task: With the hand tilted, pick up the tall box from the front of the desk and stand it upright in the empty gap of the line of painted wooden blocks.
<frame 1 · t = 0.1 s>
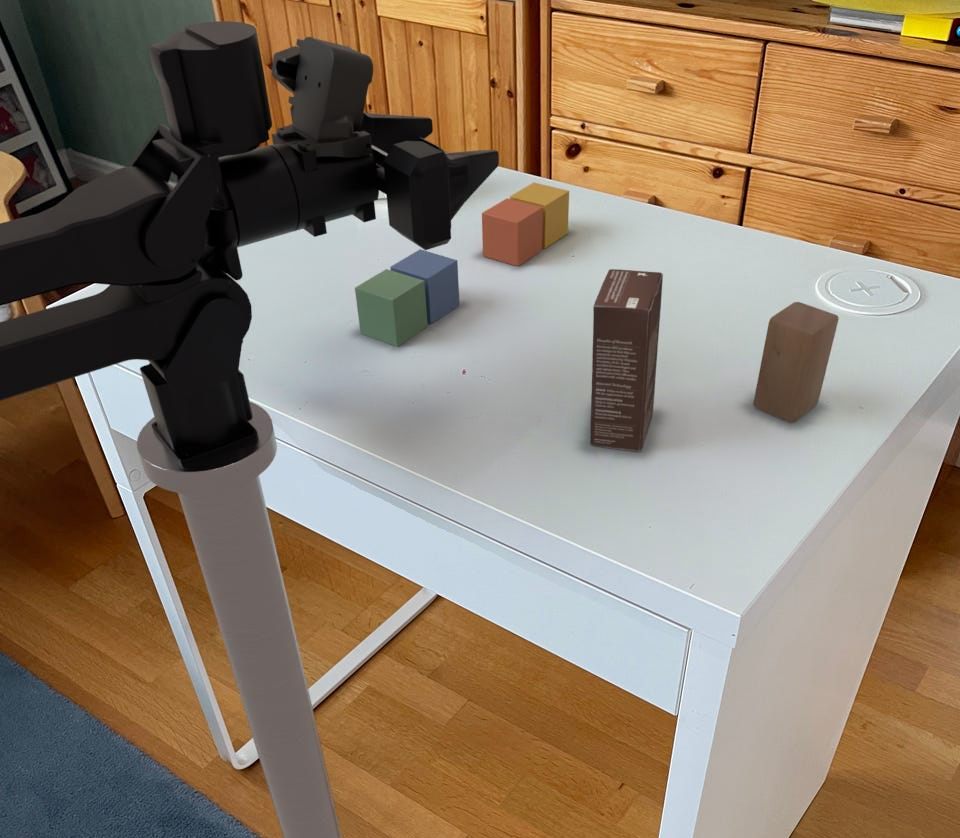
hand: (463, 140, 76), 18 cm above the table, tool horizontal, fingers open, 9 cm apart
wooden block: (784, 409, 81), on the table
box: (619, 432, 79), on the table
block line: (471, 280, 99), on the table
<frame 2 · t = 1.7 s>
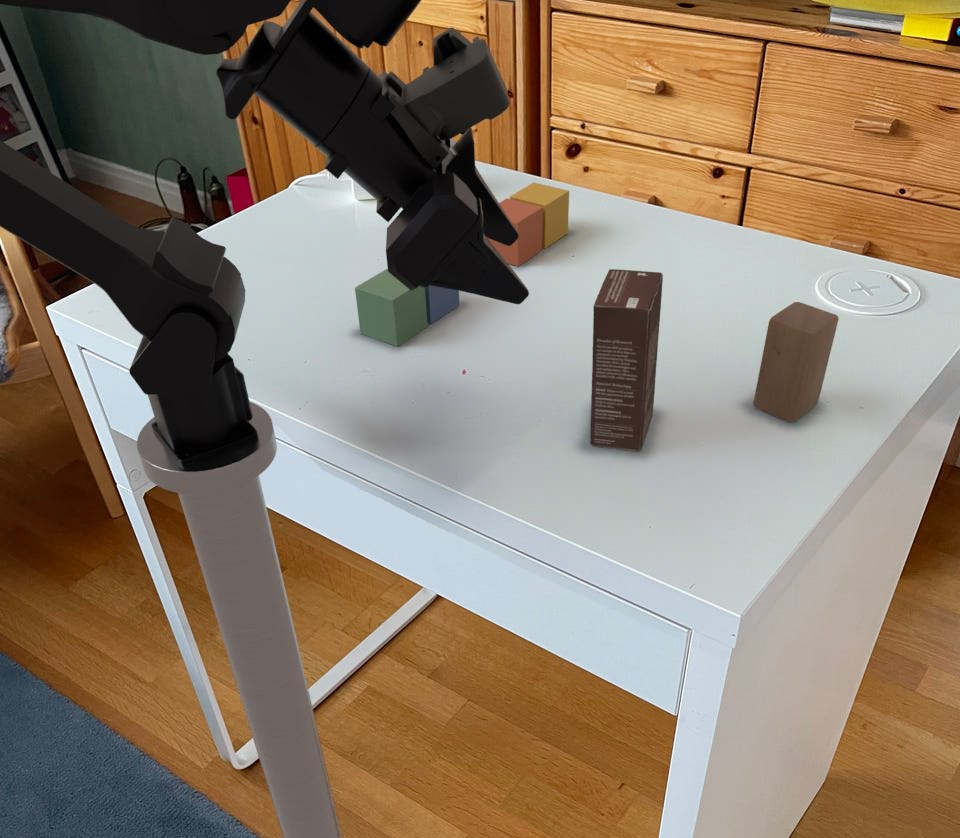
hand: (519, 268, 69), 14 cm above the table, tool tilted 45°, fingers open, 9 cm apart
nothing on the table moved.
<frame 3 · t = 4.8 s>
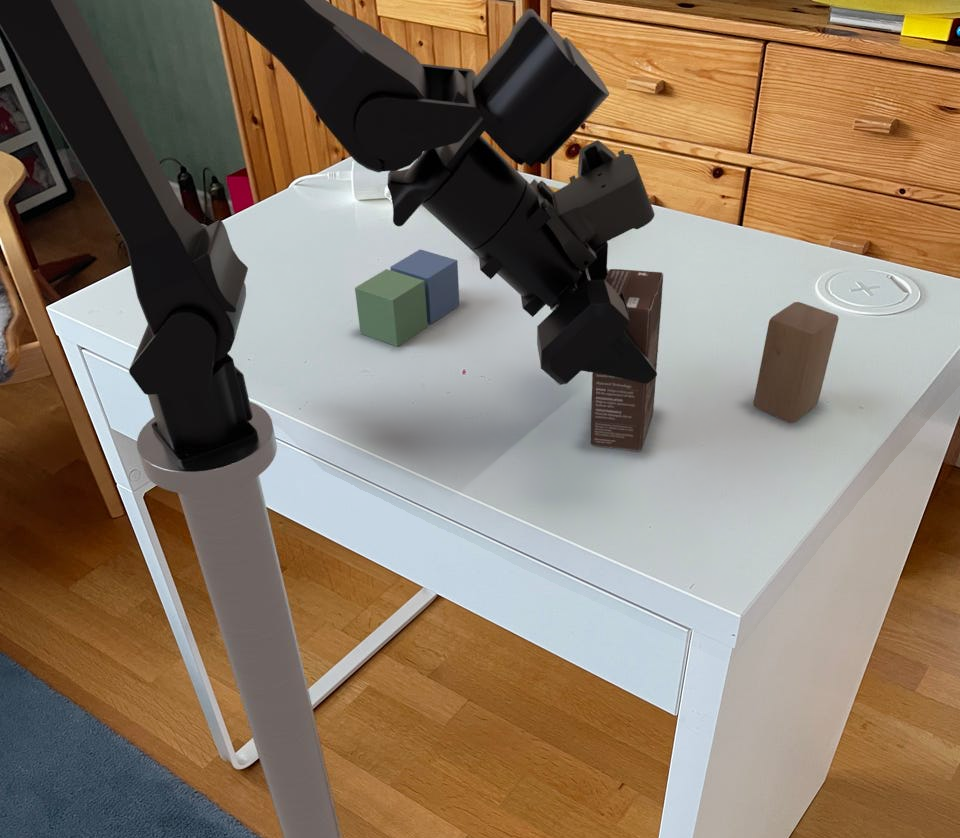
hand: (644, 354, 74), 7 cm above the table, tool tilted 45°, fingers closed on box, 7 cm apart
box: (619, 432, 79), on the table, touching gripper
everything else where it was.
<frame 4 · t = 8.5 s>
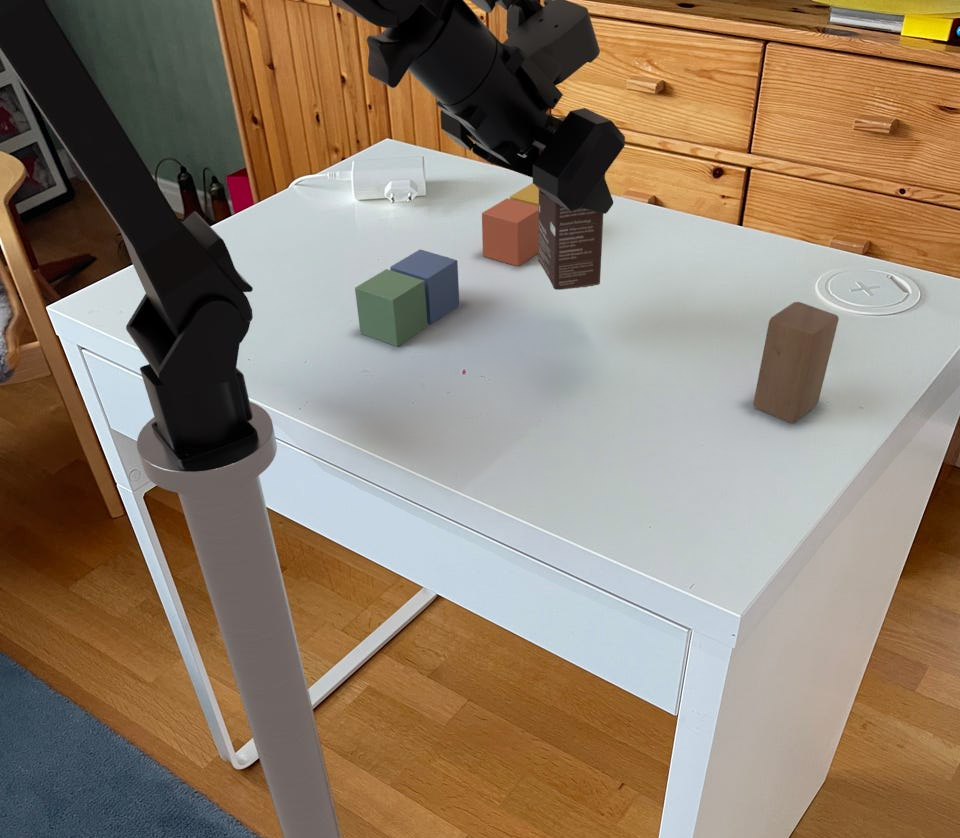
hand: (584, 194, 82), 12 cm above the table, tool tilted 45°, fingers closed on box, 7 cm apart
box: (567, 277, 86), point 6 cm above the table, touching gripper
everything else where it was.
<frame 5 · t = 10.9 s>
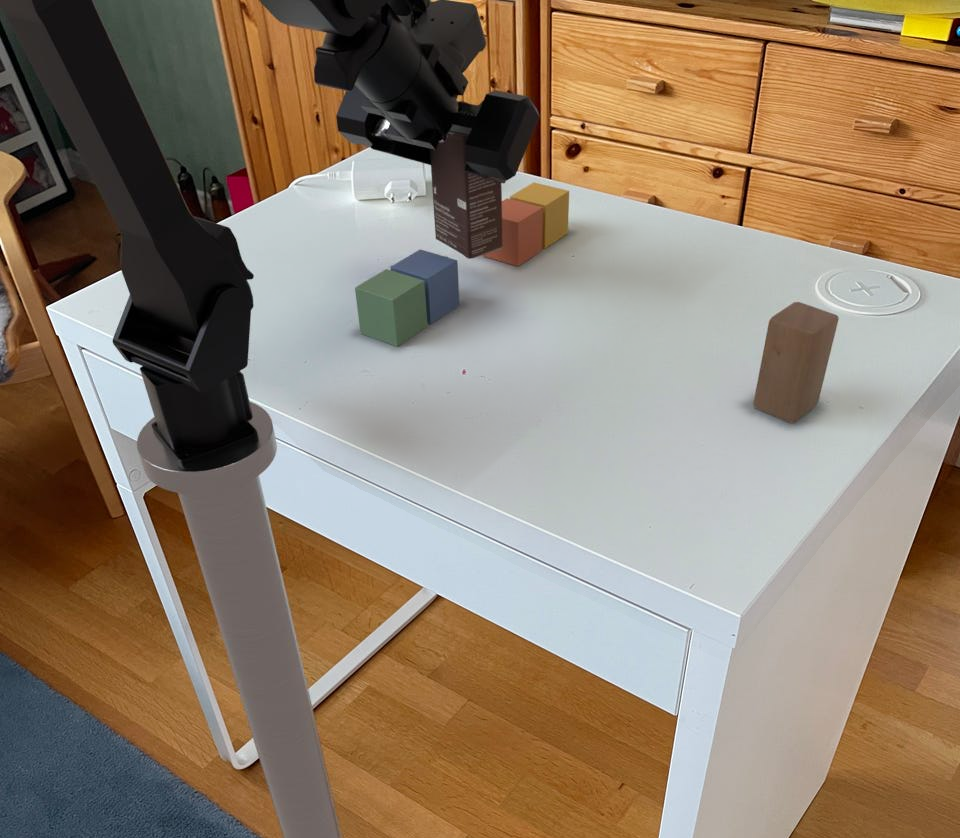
hand: (475, 170, 92), 10 cm above the table, tool tilted 45°, fingers closed on box, 7 cm apart
box: (468, 247, 96), point 3 cm above the table, touching gripper
everything else where it was.
when the fingers open (7 cm above the table, at t = 12.5 s): box stays where it is, on the table.
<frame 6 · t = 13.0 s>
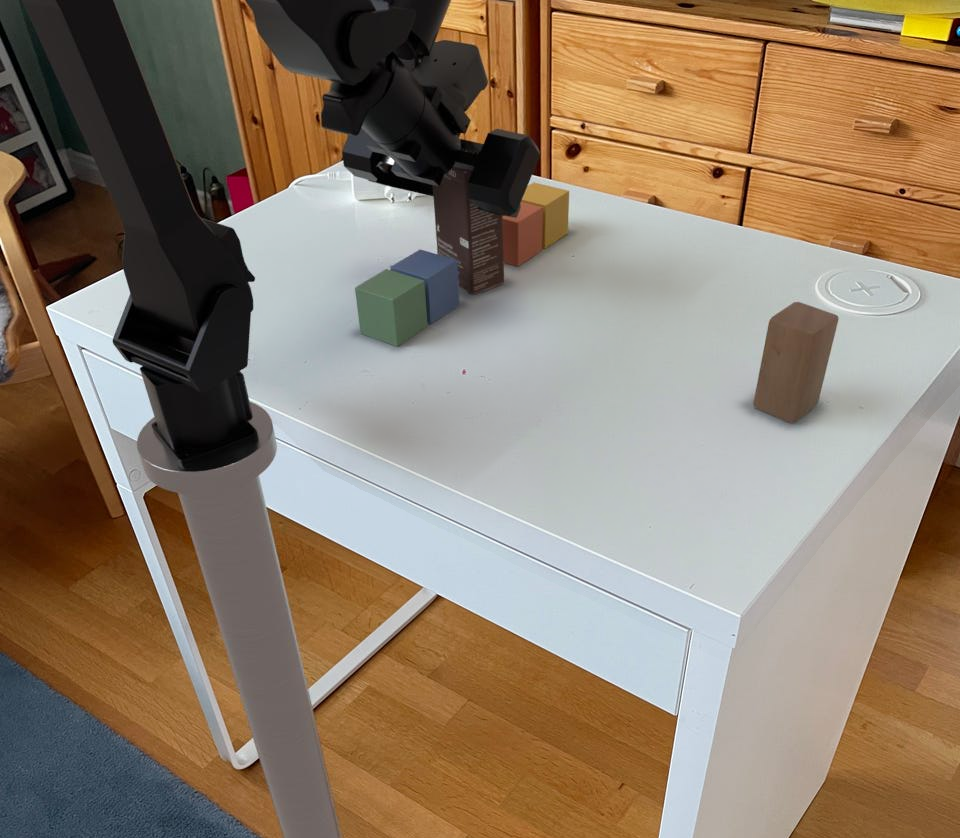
hand: (477, 202, 94), 7 cm above the table, tool tilted 45°, fingers open, 9 cm apart
box: (470, 282, 99), on the table
everything else where it was.
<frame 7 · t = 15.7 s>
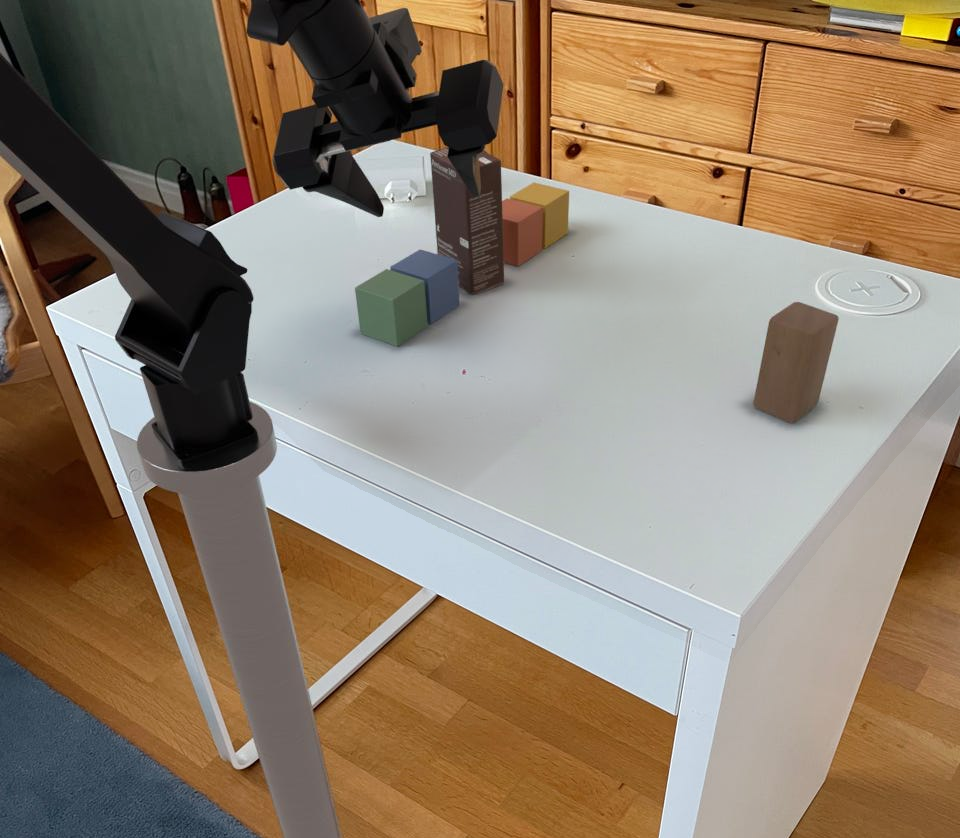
hand: (429, 202, 84), 11 cm above the table, tool tilted 30°, fingers open, 9 cm apart
nothing on the table moved.
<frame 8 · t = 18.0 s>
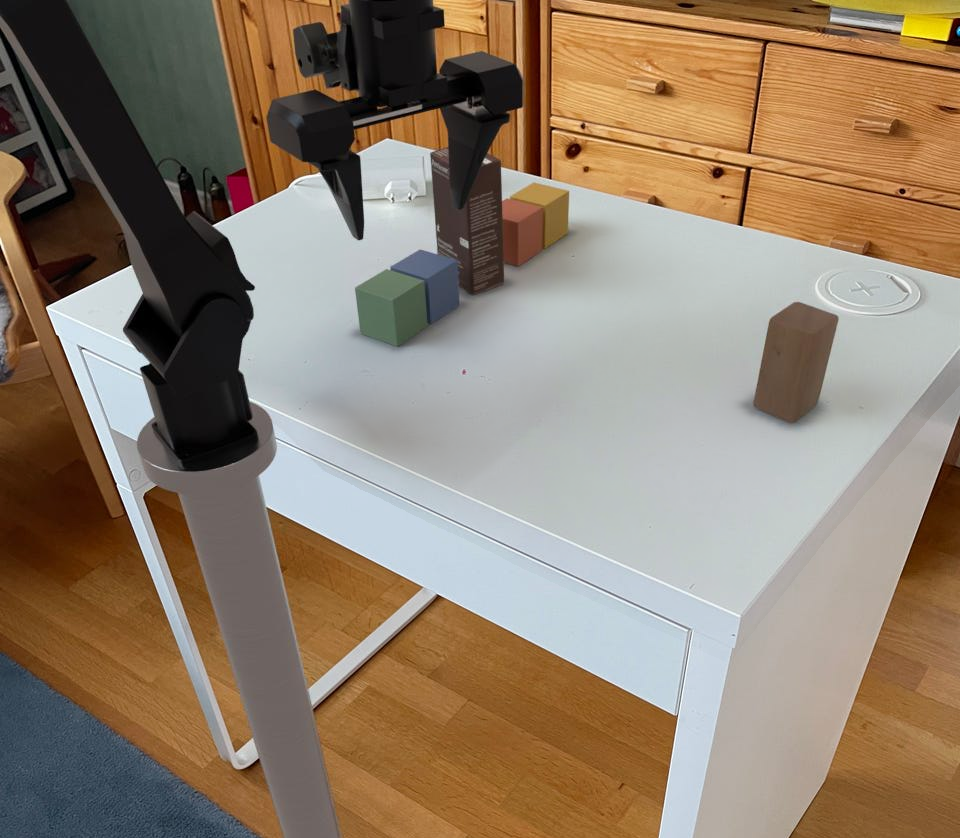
hand: (408, 223, 77), 13 cm above the table, tool pointing down, fingers open, 9 cm apart
nothing on the table moved.
at the end: box 0.1 cm off-centre on the block line, point 0.0 cm above the block line's base; box tilted 0° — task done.
